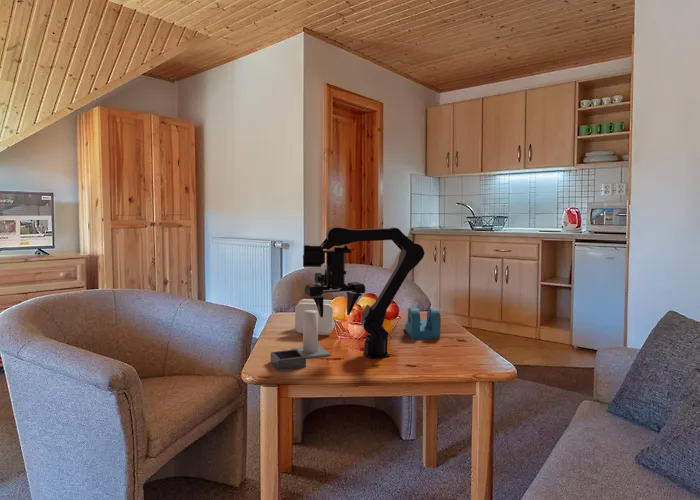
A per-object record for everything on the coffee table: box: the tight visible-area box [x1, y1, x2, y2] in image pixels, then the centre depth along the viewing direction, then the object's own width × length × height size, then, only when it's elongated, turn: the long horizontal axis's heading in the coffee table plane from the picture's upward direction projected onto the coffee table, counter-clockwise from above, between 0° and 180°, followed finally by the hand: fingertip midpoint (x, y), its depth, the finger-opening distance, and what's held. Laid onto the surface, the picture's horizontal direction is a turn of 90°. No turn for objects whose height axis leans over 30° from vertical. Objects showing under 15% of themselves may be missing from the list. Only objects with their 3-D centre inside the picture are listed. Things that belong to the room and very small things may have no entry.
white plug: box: [302, 310, 319, 353], centre depth 151 cm, size 5×5×13 cm
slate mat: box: [290, 344, 331, 360], centre depth 151 cm, size 10×10×1 cm
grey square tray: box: [270, 349, 307, 372], centre depth 140 cm, size 8×8×3 cm
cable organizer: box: [294, 298, 336, 336], centre depth 178 cm, size 15×11×12 cm
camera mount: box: [404, 307, 442, 340], centre depth 178 cm, size 18×10×10 cm, turn 4°
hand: (334, 315), depth 147 cm, fingers open, 9 cm apart
